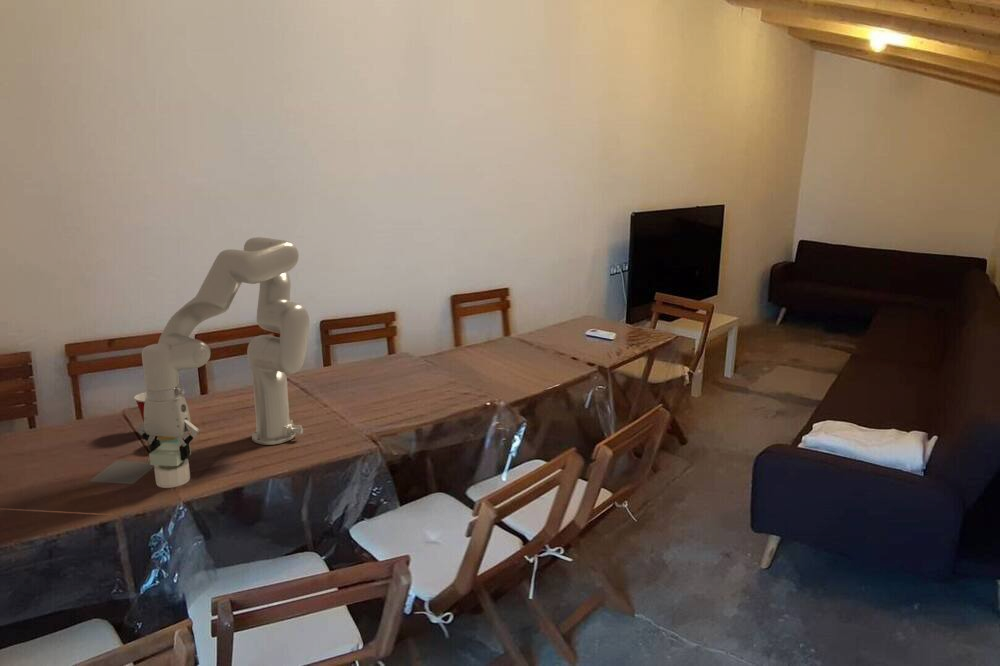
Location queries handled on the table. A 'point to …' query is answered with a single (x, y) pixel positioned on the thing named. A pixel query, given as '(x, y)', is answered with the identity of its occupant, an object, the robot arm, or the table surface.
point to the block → (166, 455)
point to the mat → (123, 472)
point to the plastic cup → (141, 402)
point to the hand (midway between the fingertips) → (171, 457)
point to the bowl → (172, 475)
